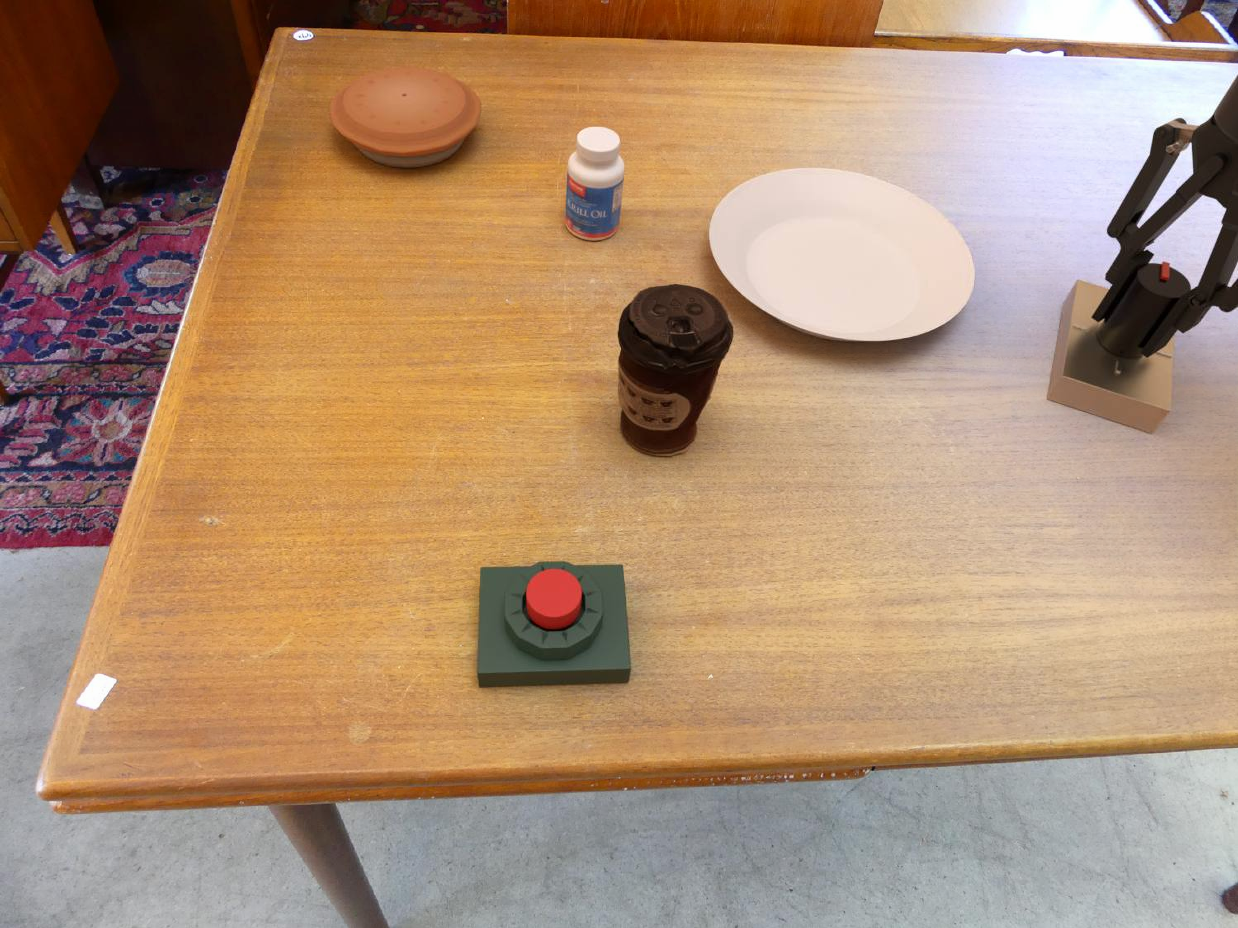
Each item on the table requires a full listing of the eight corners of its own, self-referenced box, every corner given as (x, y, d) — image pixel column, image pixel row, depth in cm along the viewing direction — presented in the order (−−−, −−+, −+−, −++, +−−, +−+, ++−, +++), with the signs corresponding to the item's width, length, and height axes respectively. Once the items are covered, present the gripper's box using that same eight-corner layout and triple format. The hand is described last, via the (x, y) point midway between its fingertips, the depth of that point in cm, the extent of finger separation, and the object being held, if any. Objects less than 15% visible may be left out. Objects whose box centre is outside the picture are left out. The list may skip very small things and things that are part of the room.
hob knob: (1145, 364, 80) (1193, 301, 74) (1094, 348, 81) (1137, 285, 75) (1147, 332, 82) (1193, 269, 77) (1098, 317, 83) (1139, 254, 78)
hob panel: (1151, 433, 79) (1171, 409, 77) (1046, 399, 81) (1062, 374, 78) (1158, 332, 87) (1177, 307, 85) (1063, 302, 89) (1078, 277, 86)
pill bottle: (556, 234, 90) (558, 146, 82) (575, 203, 93) (579, 116, 86) (609, 248, 89) (616, 161, 82) (626, 216, 92) (634, 130, 85)
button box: (620, 579, 66) (625, 550, 63) (628, 682, 62) (633, 656, 58) (481, 582, 66) (479, 552, 62) (478, 687, 61) (475, 660, 58)
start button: (579, 581, 62) (580, 567, 61) (582, 629, 60) (583, 616, 58) (526, 582, 62) (526, 568, 60) (526, 630, 59) (526, 617, 58)
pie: (352, 93, 103) (345, 50, 99) (490, 105, 103) (489, 62, 99) (319, 174, 93) (309, 130, 89) (471, 187, 94) (469, 144, 90)
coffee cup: (675, 488, 72) (698, 373, 62) (586, 441, 74) (594, 323, 64) (726, 419, 77) (755, 302, 66) (641, 377, 79) (657, 258, 69)
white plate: (997, 263, 92) (1011, 234, 89) (898, 412, 78) (912, 384, 76) (778, 168, 99) (785, 139, 97) (654, 289, 86) (658, 259, 83)
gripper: (1159, 38, 65) (1022, 289, 83) (1400, 165, 57) (1190, 412, 75) (1218, 14, 68) (1073, 261, 86) (1455, 131, 60) (1239, 377, 78)
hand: (1128, 331), depth 81 cm, fingers closed on hob knob, 4 cm apart
